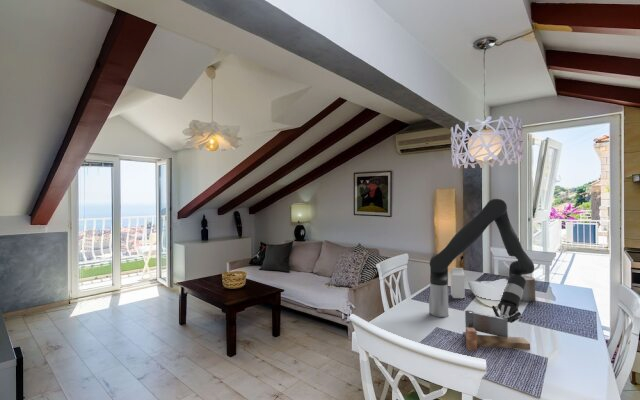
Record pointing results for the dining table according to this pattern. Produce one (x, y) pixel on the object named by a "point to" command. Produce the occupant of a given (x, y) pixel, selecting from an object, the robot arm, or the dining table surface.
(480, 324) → the bar
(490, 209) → the robot arm
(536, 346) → the dining table surface
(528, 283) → the pillar candle
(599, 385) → the dining table surface
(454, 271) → the milk carton
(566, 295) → the dining table surface
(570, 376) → the dining table surface
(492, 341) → the door edge
